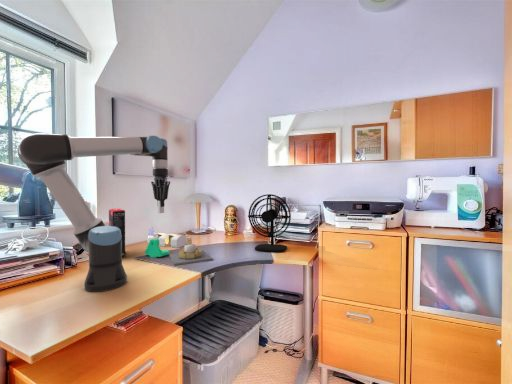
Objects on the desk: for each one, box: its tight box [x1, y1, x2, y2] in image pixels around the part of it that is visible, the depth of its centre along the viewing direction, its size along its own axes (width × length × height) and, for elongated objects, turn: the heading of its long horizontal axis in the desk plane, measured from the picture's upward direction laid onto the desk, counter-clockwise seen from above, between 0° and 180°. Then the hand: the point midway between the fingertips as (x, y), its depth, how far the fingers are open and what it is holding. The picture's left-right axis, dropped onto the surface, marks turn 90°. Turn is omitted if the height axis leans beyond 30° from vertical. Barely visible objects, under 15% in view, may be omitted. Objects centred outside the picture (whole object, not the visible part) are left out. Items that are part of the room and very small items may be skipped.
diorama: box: [146, 226, 188, 249], centre depth 175 cm, size 25×10×13 cm, turn 68°
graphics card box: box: [108, 208, 126, 258], centre depth 150 cm, size 17×7×27 cm, turn 37°
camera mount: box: [144, 238, 170, 259], centre depth 149 cm, size 12×8×10 cm, turn 65°
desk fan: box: [247, 193, 292, 253], centre depth 160 cm, size 27×18×35 cm, turn 73°
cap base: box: [168, 244, 213, 267], centre depth 143 cm, size 20×20×7 cm
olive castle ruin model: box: [178, 237, 201, 259], centre depth 145 cm, size 16×12×8 cm
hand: (161, 212), depth 135 cm, fingers closed
